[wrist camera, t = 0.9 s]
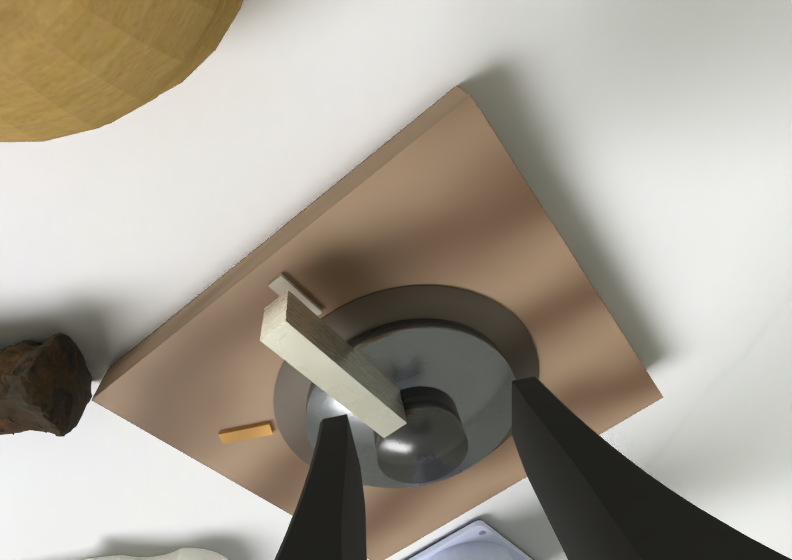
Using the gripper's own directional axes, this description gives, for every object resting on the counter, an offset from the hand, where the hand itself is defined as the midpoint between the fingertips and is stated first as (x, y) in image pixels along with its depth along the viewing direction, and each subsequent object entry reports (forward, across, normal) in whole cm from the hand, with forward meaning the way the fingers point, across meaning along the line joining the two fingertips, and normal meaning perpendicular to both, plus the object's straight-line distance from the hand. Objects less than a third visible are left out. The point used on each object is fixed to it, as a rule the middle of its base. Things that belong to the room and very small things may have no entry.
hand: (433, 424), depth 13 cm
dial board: (+10, 0, +8) cm, 13 cm away
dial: (+8, +1, +6) cm, 10 cm away
